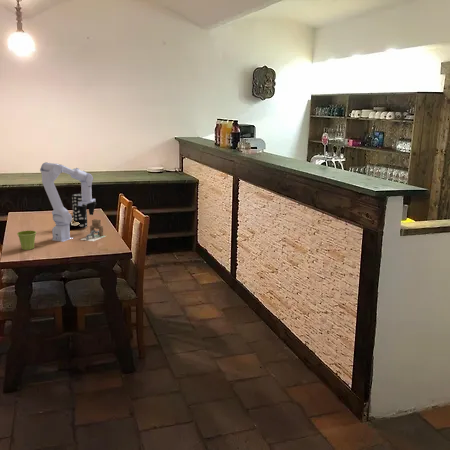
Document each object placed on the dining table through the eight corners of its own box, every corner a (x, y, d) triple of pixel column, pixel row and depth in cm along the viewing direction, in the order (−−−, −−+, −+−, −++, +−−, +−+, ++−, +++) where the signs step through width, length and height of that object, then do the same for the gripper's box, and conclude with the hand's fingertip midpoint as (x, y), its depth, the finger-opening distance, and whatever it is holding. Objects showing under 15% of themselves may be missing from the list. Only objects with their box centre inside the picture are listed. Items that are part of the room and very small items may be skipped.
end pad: (101, 237, 294) (101, 237, 294) (89, 236, 297) (89, 235, 297) (105, 236, 298) (105, 235, 298) (92, 234, 301) (92, 234, 300)
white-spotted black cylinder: (82, 228, 316) (80, 196, 312) (70, 227, 319) (69, 195, 315) (90, 225, 324) (88, 194, 319) (78, 224, 327) (77, 193, 322)
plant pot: (36, 250, 268) (35, 234, 266) (17, 251, 266) (16, 235, 264) (37, 245, 277) (36, 230, 275) (19, 246, 274) (18, 231, 273)
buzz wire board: (93, 242, 287) (93, 233, 285) (79, 240, 290) (79, 231, 288) (106, 236, 298) (106, 228, 297) (93, 235, 301) (92, 226, 300)
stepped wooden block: (100, 236, 295) (100, 221, 293) (90, 235, 298) (89, 219, 295) (103, 235, 298) (102, 220, 295) (92, 234, 300) (92, 219, 298)
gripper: (85, 195, 293) (86, 219, 296) (99, 191, 306) (100, 214, 309) (74, 194, 295) (75, 217, 298) (89, 191, 308) (90, 213, 311)
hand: (87, 215), depth 304 cm, fingers open, 7 cm apart
